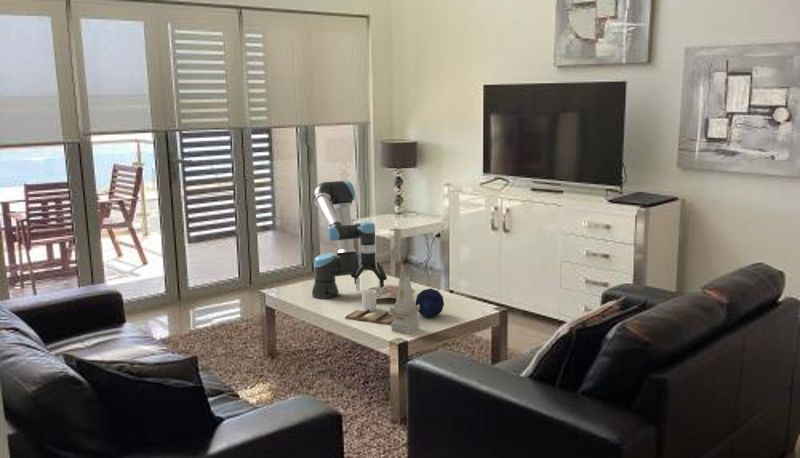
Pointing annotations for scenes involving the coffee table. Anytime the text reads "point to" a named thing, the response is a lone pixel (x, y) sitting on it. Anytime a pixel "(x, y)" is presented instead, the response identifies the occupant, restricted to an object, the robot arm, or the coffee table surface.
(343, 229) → the robot arm
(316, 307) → the coffee table surface
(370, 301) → the white cup
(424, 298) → the decorative orb
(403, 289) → the miniature monument
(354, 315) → the brown wooden board
